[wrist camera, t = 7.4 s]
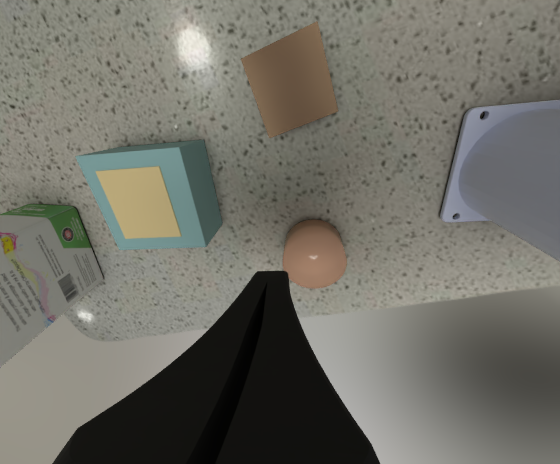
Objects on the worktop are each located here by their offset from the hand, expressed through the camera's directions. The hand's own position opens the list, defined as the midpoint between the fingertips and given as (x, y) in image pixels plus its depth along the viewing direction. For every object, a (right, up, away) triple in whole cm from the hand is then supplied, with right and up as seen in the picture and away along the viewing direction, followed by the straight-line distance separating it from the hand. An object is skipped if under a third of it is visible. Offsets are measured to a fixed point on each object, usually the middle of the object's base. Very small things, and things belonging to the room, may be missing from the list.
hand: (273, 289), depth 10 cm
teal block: (-5, +5, +7) cm, 10 cm away
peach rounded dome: (+3, +1, +11) cm, 11 cm away
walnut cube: (+1, +12, +5) cm, 13 cm away
